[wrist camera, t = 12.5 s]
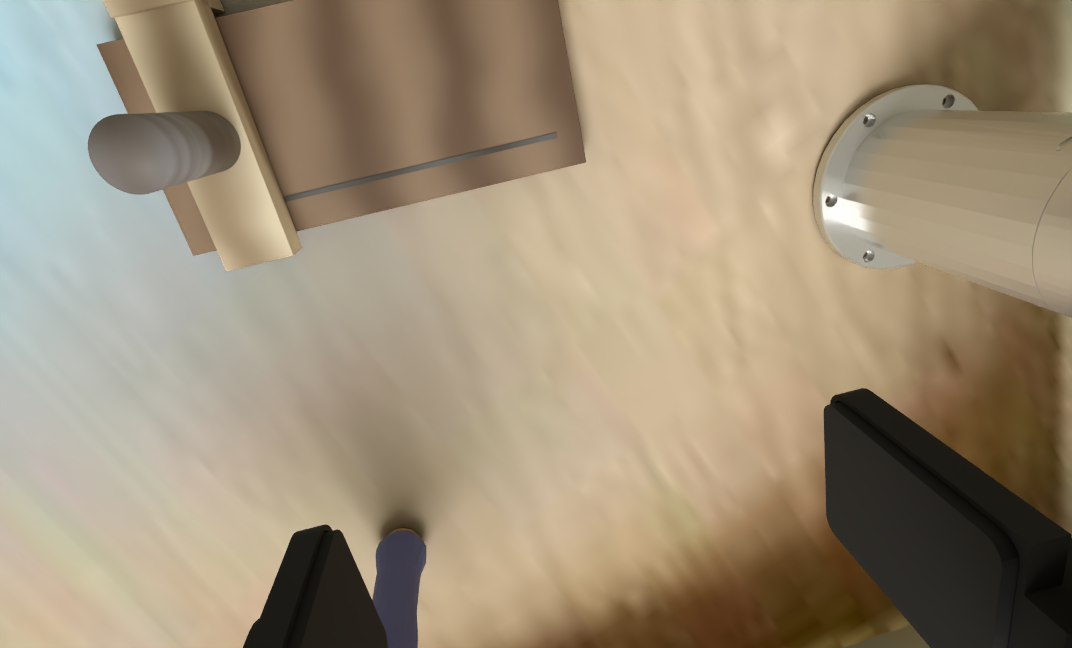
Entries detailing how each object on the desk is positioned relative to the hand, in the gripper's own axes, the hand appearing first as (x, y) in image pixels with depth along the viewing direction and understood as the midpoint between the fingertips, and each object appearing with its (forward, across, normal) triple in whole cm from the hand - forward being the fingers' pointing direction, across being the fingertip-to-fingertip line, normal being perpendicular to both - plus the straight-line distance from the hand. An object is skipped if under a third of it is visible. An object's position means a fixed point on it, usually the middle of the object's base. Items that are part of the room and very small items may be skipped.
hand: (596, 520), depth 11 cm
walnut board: (+30, +6, -8) cm, 32 cm away
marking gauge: (+30, +14, -8) cm, 35 cm away
